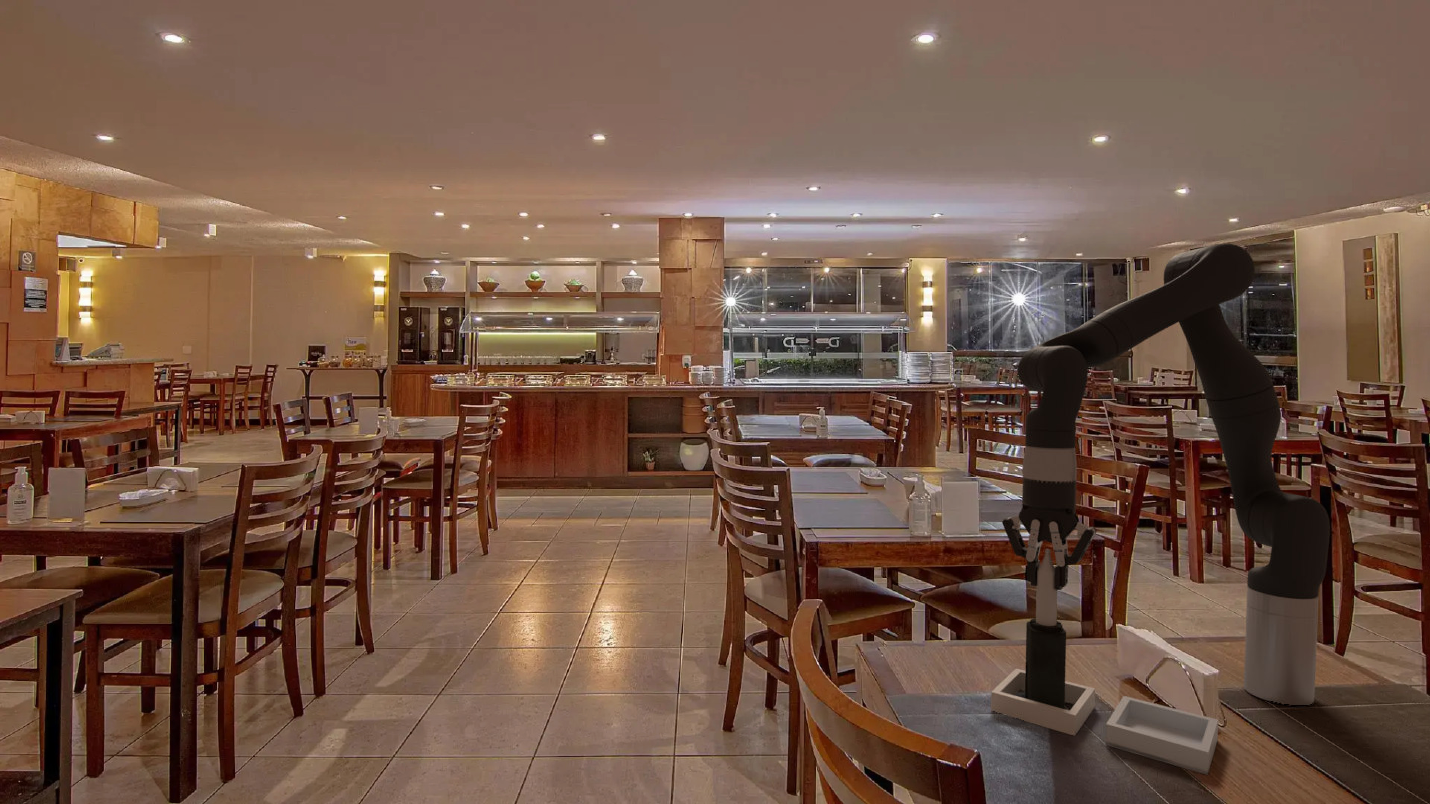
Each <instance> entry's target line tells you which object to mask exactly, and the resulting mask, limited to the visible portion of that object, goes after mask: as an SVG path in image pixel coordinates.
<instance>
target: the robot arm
mask: <svg viewBox="0 0 1430 804" xmlns="http://www.w3.org/2000/svg"><path fill="white" fill-rule="evenodd" d="M1255 270H1256V268H1255V263H1254V259H1253V258H1252V256H1251V255H1250V252H1248V251H1247V250H1246V249H1245V248H1244V247H1242V246H1239V245H1237V244H1232V243H1218V244H1212V245H1211V244H1210V245H1207V246H1205V247H1199V248H1196V249H1191V250H1188V251H1185V252H1181V253H1178V254H1176V255H1174V256H1172V257H1171V258H1170V259H1169V260H1168V262H1167V263H1166V265H1165V267H1164V271H1163V285H1161V286H1159V287H1157V288H1154V289H1153V290H1149V291H1148V292H1146V293H1143V294H1140V295H1138V296H1135V297H1134V298H1133V297H1132V298H1131V299H1128V300H1126V301H1123V302H1121V303H1119V304H1117V305H1114V306H1112V307H1110V308H1108V309H1107V310H1106V309H1105V311H1103V312H1101V313H1099V314H1098V315H1096V316H1094V317H1093V318H1091V319H1089V320H1088V321H1086V322H1084V323H1083V324H1081V325H1080V326H1078V327H1077V328H1074V329H1072V330H1070V331H1068V332H1066V333H1062V334H1060V335H1057V336H1055V337H1053V338H1051V339H1047V340H1046V341H1043V342H1041V343H1039V344H1038V345H1035V346H1034V347H1032V348H1031V349H1029V350H1027V352H1025V353H1024V354H1023V355H1022V357H1021V358H1020V360H1019V363H1018V366H1017V377H1018V380H1019V381H1020V383H1021V384H1022V385H1023V386H1024V387H1026V389H1029V390H1031V391H1033V392H1034V391H1035V392H1039V393H1041V392H1042V394H1041V399H1040V403H1039V406H1038V407H1036V408H1033V409H1030V411H1028V413H1027V414H1026V419H1025V439H1024V440H1025V441H1024V443H1025V444H1024V445H1025V447H1024V454H1023V460H1022V461H1023V462H1022V467H1021V472H1022V473H1021V474H1022V492H1021V493H1022V494H1021V496H1022V497H1021V499H1022V500H1021V505H1022V507H1021V510H1020V511H1019V513H1018V515H1016V516H1009V517H1007V518H1004V519H1002V523H1001V524H1002V526H1003V529H1004V530H1005V533H1006V536H1007V538H1008V540H1009V543H1010V545H1011V548H1012V551H1013V552H1014V554H1015V556H1017V557H1018V556H1019V557H1021V558H1024V559H1025V561H1026V563H1027V564H1026V578H1027V582H1030V585H1031V586H1034V587H1037V569H1038V568H1039V566H1040V565H1041V560H1040V559H1039V556H1040V551H1041V547H1042V544H1043V542H1048V543H1051V544H1052V550H1053V551H1054V556H1055V563H1056V565H1054V567H1055V590H1057V591H1062V590H1063V588H1065V587H1066V586H1067V585H1068V583H1069V566H1070V565H1077V564H1078V563H1080V562H1081V561H1082V559H1084V558H1083V557H1084V556H1085V554H1086V552H1087V551H1088V548H1089V547H1090V545H1091V543H1092V542H1093V539H1094V538H1095V537H1096V534H1097V529H1096V527H1093V526H1090V527H1089V526H1087V525H1086V524H1083V523H1082V522H1080V520H1079V519H1080V518H1079V517H1078V515H1077V513H1076V512H1077V511H1076V509H1077V508H1076V506H1077V505H1076V504H1077V501H1076V499H1077V465H1078V464H1077V456H1076V427H1077V426H1076V422H1077V417H1078V414H1079V412H1080V409H1081V406H1082V402H1083V399H1084V396H1085V395H1084V394H1085V391H1086V388H1087V383H1088V376H1089V371H1088V369H1089V368H1090V369H1091V368H1096V367H1100V366H1103V365H1106V364H1108V363H1111V362H1112V361H1113V360H1115V359H1117V358H1118V357H1120V356H1121V355H1123V354H1125V353H1127V352H1128V351H1131V349H1133V348H1134V347H1136V346H1138V345H1139V344H1141V343H1143V342H1145V341H1146V340H1148V339H1150V338H1151V337H1153V336H1155V335H1157V334H1158V333H1160V332H1163V331H1164V330H1166V329H1167V328H1170V327H1172V326H1173V325H1176V324H1177V323H1178V324H1179V326H1180V328H1181V330H1182V332H1183V335H1184V337H1185V339H1186V342H1187V344H1188V347H1189V348H1188V349H1189V351H1190V353H1191V356H1192V359H1193V361H1194V365H1195V367H1196V370H1197V374H1198V376H1199V379H1200V381H1201V386H1202V390H1203V395H1204V398H1205V400H1206V404H1207V407H1208V410H1209V411H1208V412H1209V414H1210V417H1211V419H1212V422H1213V424H1214V428H1215V430H1216V434H1217V437H1218V440H1219V443H1220V448H1221V451H1222V455H1223V458H1224V461H1225V464H1226V468H1227V473H1228V477H1229V482H1230V487H1231V492H1232V498H1233V499H1232V500H1233V505H1234V509H1235V514H1236V518H1237V522H1238V524H1239V526H1240V529H1241V531H1242V532H1243V533H1244V535H1245V536H1246V537H1247V538H1249V539H1250V540H1252V541H1253V542H1255V543H1258V544H1260V545H1263V546H1266V547H1271V549H1270V556H1269V562H1268V563H1267V565H1264V566H1263V565H1262V566H1255V567H1252V568H1250V569H1249V571H1248V573H1247V579H1246V581H1247V582H1246V583H1247V586H1246V587H1247V588H1246V589H1247V590H1246V612H1245V613H1246V615H1245V641H1244V642H1245V644H1244V665H1243V666H1244V667H1243V688H1244V690H1245V691H1246V692H1247V693H1249V694H1250V695H1253V696H1255V697H1257V698H1260V699H1262V700H1264V701H1268V702H1271V701H1273V702H1272V703H1275V702H1277V703H1276V704H1279V703H1281V705H1284V704H1289V705H1288V706H1291V705H1307V704H1312V703H1313V702H1314V703H1315V693H1316V692H1315V691H1316V690H1315V687H1316V671H1317V670H1316V669H1317V668H1316V667H1317V646H1318V645H1317V643H1318V641H1317V640H1318V619H1319V617H1318V616H1319V614H1318V613H1319V592H1320V586H1321V585H1322V583H1323V580H1324V579H1325V578H1326V577H1325V576H1326V573H1327V572H1326V571H1327V563H1328V555H1329V554H1328V553H1329V548H1330V547H1329V545H1330V535H1331V524H1330V518H1329V514H1328V512H1327V510H1326V508H1325V507H1324V506H1323V504H1321V502H1319V501H1318V500H1316V499H1314V498H1311V497H1308V496H1305V495H1299V494H1293V493H1288V492H1283V491H1282V489H1281V487H1280V486H1279V485H1280V484H1279V482H1278V481H1277V480H1278V479H1277V477H1276V474H1275V469H1274V466H1273V461H1272V454H1273V448H1274V445H1275V441H1276V439H1277V435H1278V432H1279V429H1280V425H1281V418H1282V412H1281V407H1280V403H1279V399H1278V395H1277V392H1276V389H1275V385H1274V383H1273V380H1272V377H1271V375H1270V373H1269V371H1268V370H1267V368H1266V367H1265V366H1264V365H1263V363H1262V362H1261V361H1260V360H1259V359H1258V358H1257V357H1256V355H1254V354H1253V352H1251V351H1250V349H1248V348H1247V347H1246V346H1245V345H1244V344H1243V343H1242V342H1241V340H1239V339H1238V338H1237V337H1236V336H1235V334H1234V333H1233V332H1232V330H1231V329H1230V327H1229V326H1228V324H1227V322H1226V319H1225V317H1224V314H1223V311H1222V308H1221V304H1224V303H1227V302H1229V301H1232V300H1234V299H1237V298H1239V297H1241V296H1242V295H1243V294H1244V293H1245V292H1247V291H1248V289H1249V288H1250V287H1251V286H1252V283H1253V281H1254V277H1255V273H1256V271H1255ZM1021 524H1022V525H1023V527H1024V528H1025V530H1026V531H1027V533H1028V534H1029V535H1028V536H1029V537H1028V540H1027V546H1026V544H1025V541H1024V539H1023V536H1022V534H1021V532H1020V529H1021V527H1022V525H1021ZM1074 530H1076V531H1077V532H1076V538H1077V539H1079V540H1078V542H1077V544H1076V546H1075V548H1074V549H1073V551H1072V553H1071V554H1070V555H1069V551H1068V547H1069V545H1068V544H1069V543H1068V539H1067V538H1068V536H1070V535H1071V533H1072V532H1073V531H1074ZM1314 703H1313V704H1314ZM1290 704H1291V705H1290ZM1313 704H1312V705H1313Z"/></svg>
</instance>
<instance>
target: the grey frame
mask: <svg viewBox="0 0 1430 804" xmlns="http://www.w3.org/2000/svg"><path fill="white" fill-rule="evenodd" d="M1025 671H1026V670H1023V669H1019V668H1015V669H1014V670H1013V671H1012V672H1011V673H1010V674H1009V675H1007V676H1006V678H1004V679H1003V680H1002V681H1001V682H1000V683H999V684H998V685H997V686H996V687H995V688H994V689H993V690H992V691H991V693H990V695H991V696H990V699H991V701H990V711H991V710H993V711H995V712H994V713H996V712H997V713H998V714H999V713H1002V714H1001V715H1003V714H1006V715H1009V716H1008V717H1010V716H1012V717H1011V718H1013V717H1014V718H1013V719H1016V718H1019V719H1018V720H1020V719H1021V720H1020V721H1023V720H1024V722H1027V723H1031V724H1034V725H1038V726H1040V727H1043V728H1047V729H1050V730H1053V731H1057V732H1061V733H1064V734H1067V735H1071V736H1076V735H1077V733H1078V732H1079V730H1080V729H1081V728H1082V727H1083V724H1084V723H1085V722H1086V721H1087V719H1088V717H1089V716H1090V715H1091V713H1092V712H1093V710H1094V709H1095V708H1096V706H1095V704H1096V703H1095V701H1096V688H1094V687H1090V686H1087V685H1084V684H1083V685H1082V684H1079V683H1075V682H1072V681H1071V682H1070V681H1067V680H1065V703H1068V704H1071V705H1072V707H1071V708H1070V710H1068V709H1066V708H1065V709H1061V708H1058V707H1054V706H1050V705H1047V704H1043V703H1039V702H1036V701H1032V700H1029V699H1025V697H1021V696H1017V693H1018V692H1019V691H1023V692H1025ZM993 711H992V712H993ZM997 713H996V714H997ZM1006 715H1005V716H1006Z"/></svg>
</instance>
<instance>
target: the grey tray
mask: <svg viewBox="0 0 1430 804" xmlns="http://www.w3.org/2000/svg"><path fill="white" fill-rule="evenodd" d="M1218 734H1219V719H1216V718H1212V717H1209V716H1205V715H1201V714H1196V713H1192V712H1189V711H1185V710H1183V709H1182V710H1181V709H1178V708H1174V707H1170V706H1166V705H1162V704H1157V703H1154V702H1150V701H1147V700H1142V699H1137V698H1134V697H1131V696H1126V695H1123V696H1122V697H1121V700H1120V701H1119V702H1118V704H1117V706H1116V708H1115V709H1114V711H1113V712H1112V714H1111V716H1110V717H1109V719H1108V720H1107V722H1106V724H1105V745H1106V746H1108V747H1111V748H1115V749H1119V750H1122V751H1125V752H1129V753H1132V754H1135V755H1139V756H1142V757H1144V758H1145V757H1146V758H1147V759H1148V758H1149V759H1153V760H1156V761H1158V762H1159V761H1160V762H1163V763H1165V764H1169V765H1173V766H1176V767H1179V768H1183V769H1187V770H1189V771H1193V772H1196V773H1200V774H1203V775H1206V776H1208V775H1209V771H1210V768H1211V765H1212V761H1213V758H1214V754H1215V750H1216V746H1217V743H1218V739H1219V736H1218Z"/></svg>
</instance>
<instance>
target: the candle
mask: <svg viewBox="0 0 1430 804" xmlns="http://www.w3.org/2000/svg"><path fill="white" fill-rule="evenodd" d="M1044 553H1045V554H1044V555H1043V556H1044V557H1043V560H1042V562H1041V563H1040V566H1039V568H1038V569H1037V586H1036V594H1035V595H1036V599H1035V601H1036V604H1035V618H1034V617H1033V618H1031V619H1030V620H1029V621H1026V626H1025V628H1026V631H1025V632H1026V634H1025V670H1024V671H1025V691H1024V698H1025V699H1029V700H1032V701H1036V702H1039V703H1043V704H1047V705H1050V706H1054V707H1058V708H1061V709H1065V710H1066V706H1065V703H1066V702H1065V681H1066V660H1067V657H1066V656H1067V631H1066V630H1065V629H1064V628H1063V624H1062V622H1060V621H1057V620H1058V619H1057V617H1058V616H1057V615H1058V590H1055V564H1054V563H1053V559H1052V555H1051V553H1052V551H1051V550H1050V549H1049V548H1046V549H1044Z"/></svg>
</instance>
